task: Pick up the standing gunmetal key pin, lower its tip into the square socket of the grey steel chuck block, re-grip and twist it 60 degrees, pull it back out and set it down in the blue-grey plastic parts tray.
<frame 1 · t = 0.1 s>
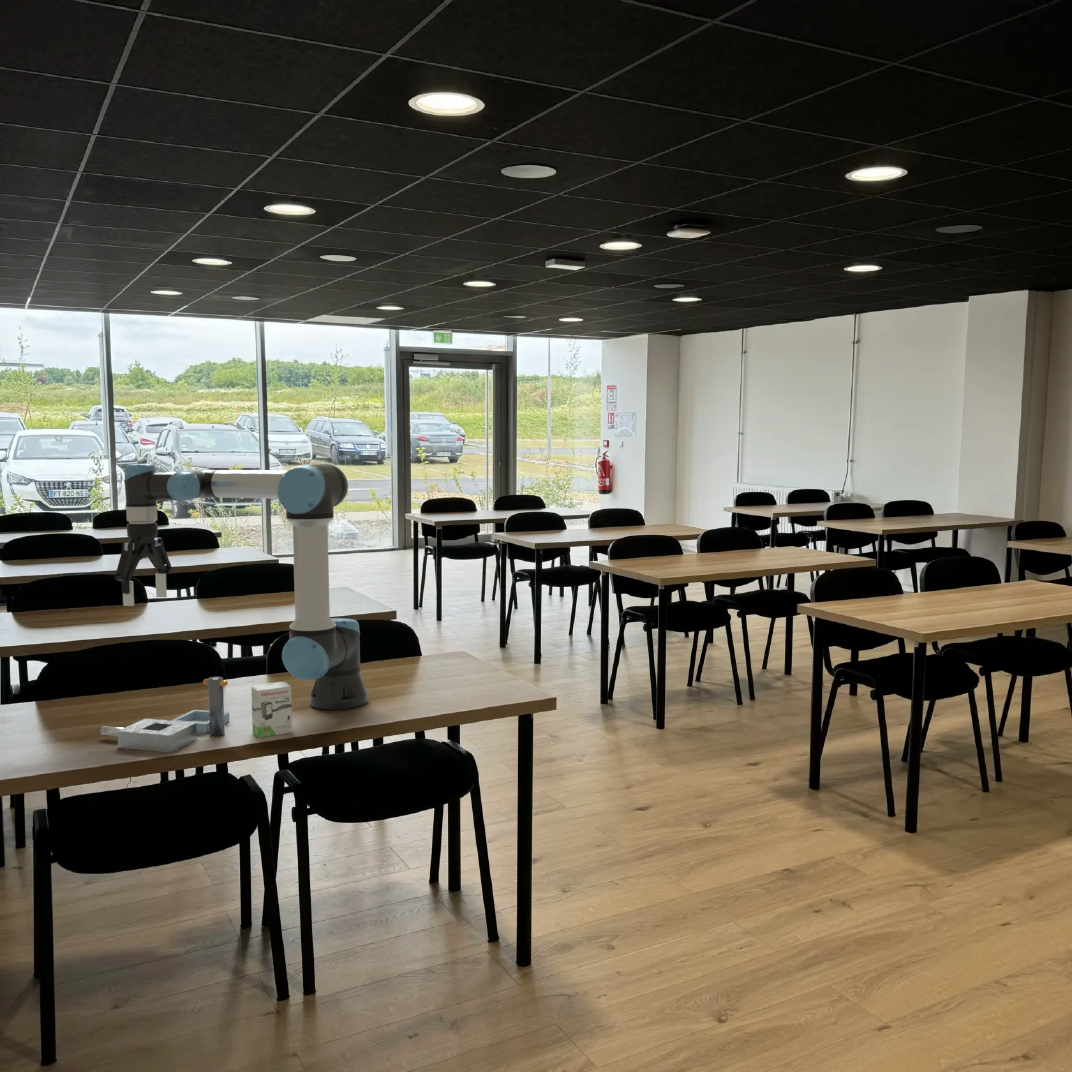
hand: (145, 601, 255), 28 cm above the table, fingers open, 13 cm apart
key pin: (217, 735, 231), on the table
chuck block: (158, 743, 225), on the table
ink box: (272, 733, 233), on the table
parts tray: (200, 726, 238), on the table
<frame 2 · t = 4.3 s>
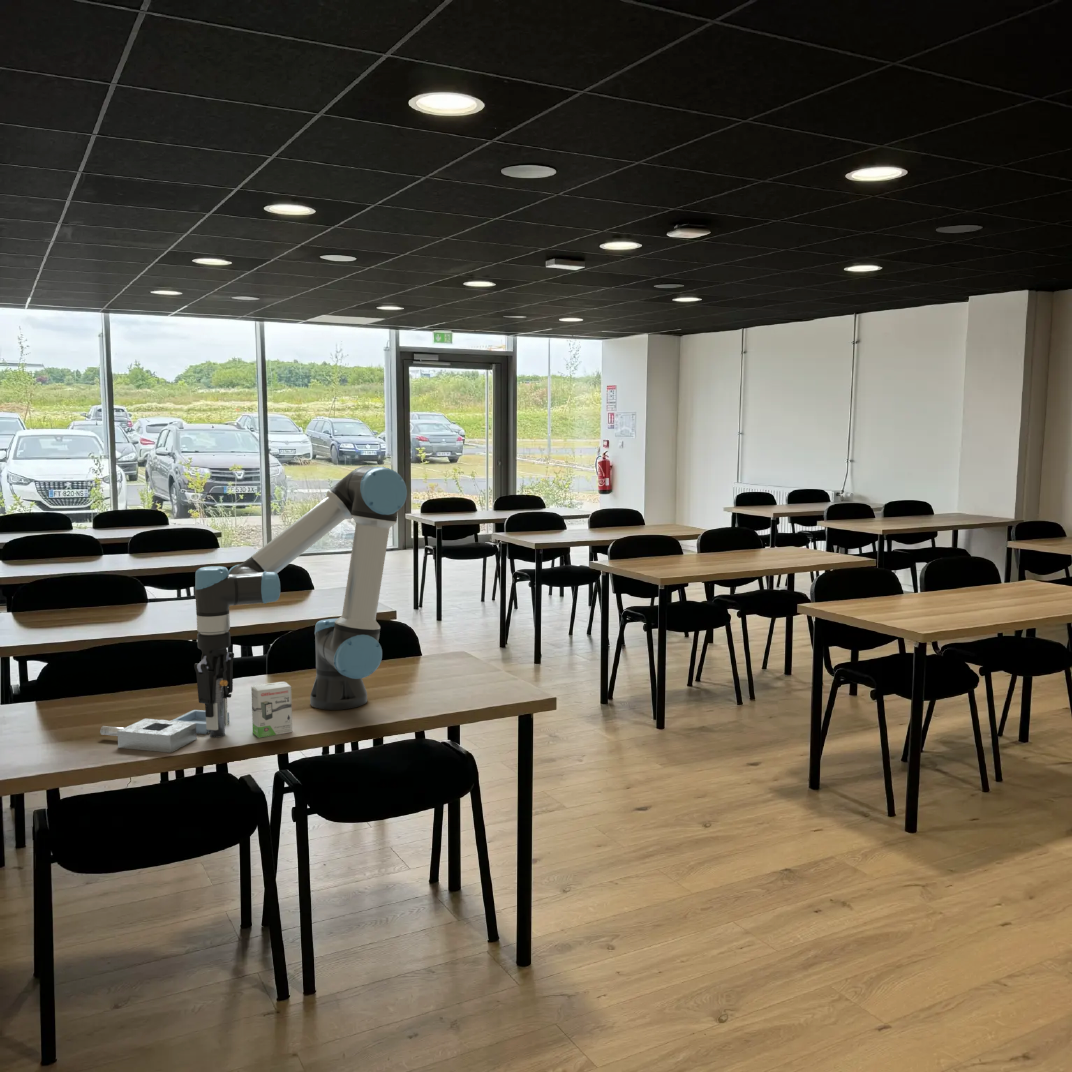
hand: (217, 726, 231), 2 cm above the table, fingers closed on key pin, 3 cm apart
key pin: (217, 735, 231), on the table, touching gripper
everything else where it was.
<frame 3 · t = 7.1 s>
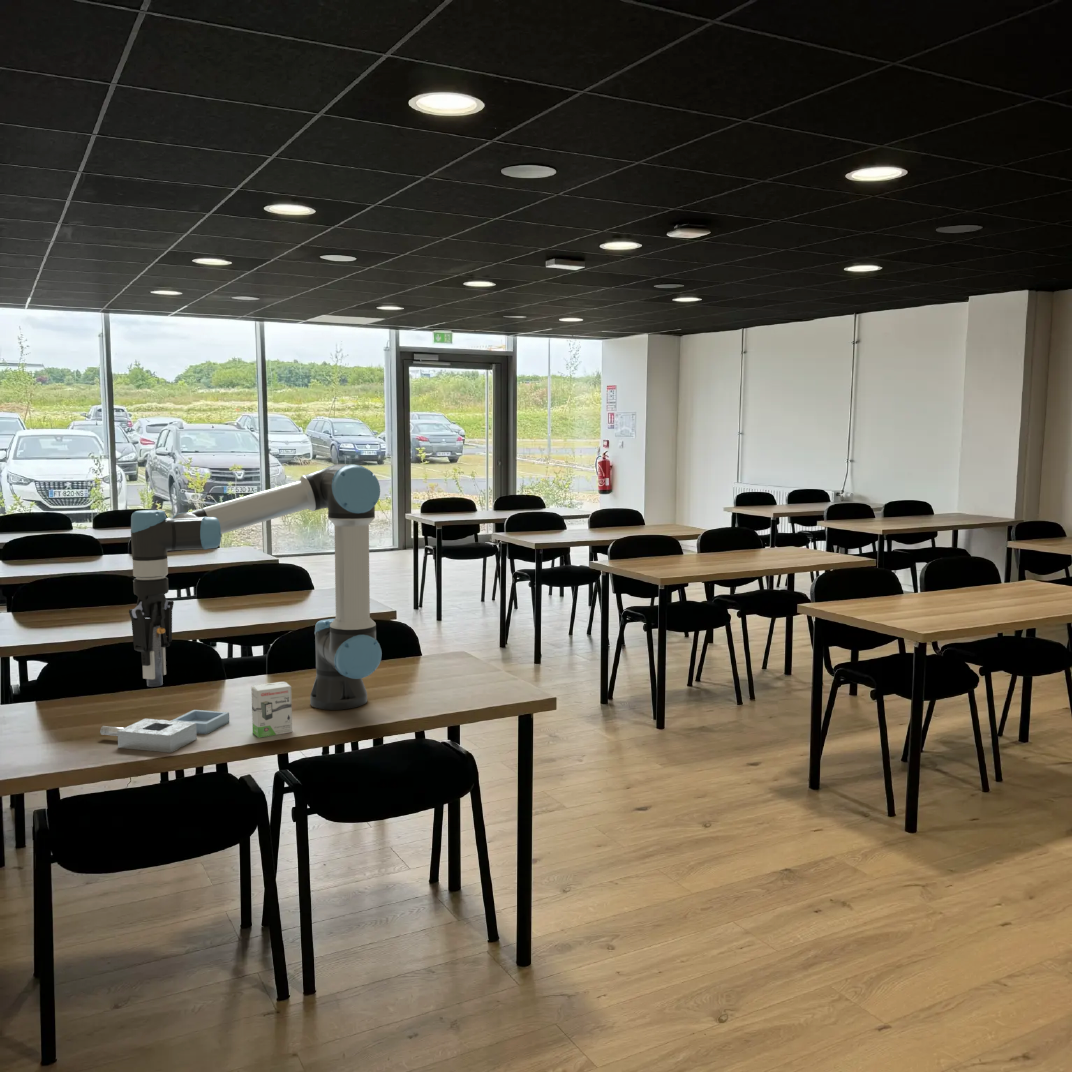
hand: (154, 676, 223), 16 cm above the table, fingers closed on key pin, 3 cm apart
key pin: (154, 684, 223), point 14 cm above the table, touching gripper
everything else where it was.
when the fingers open (5 cm above the table, at t = 9.7 s): key pin drops 2 cm, resting in chuck block.
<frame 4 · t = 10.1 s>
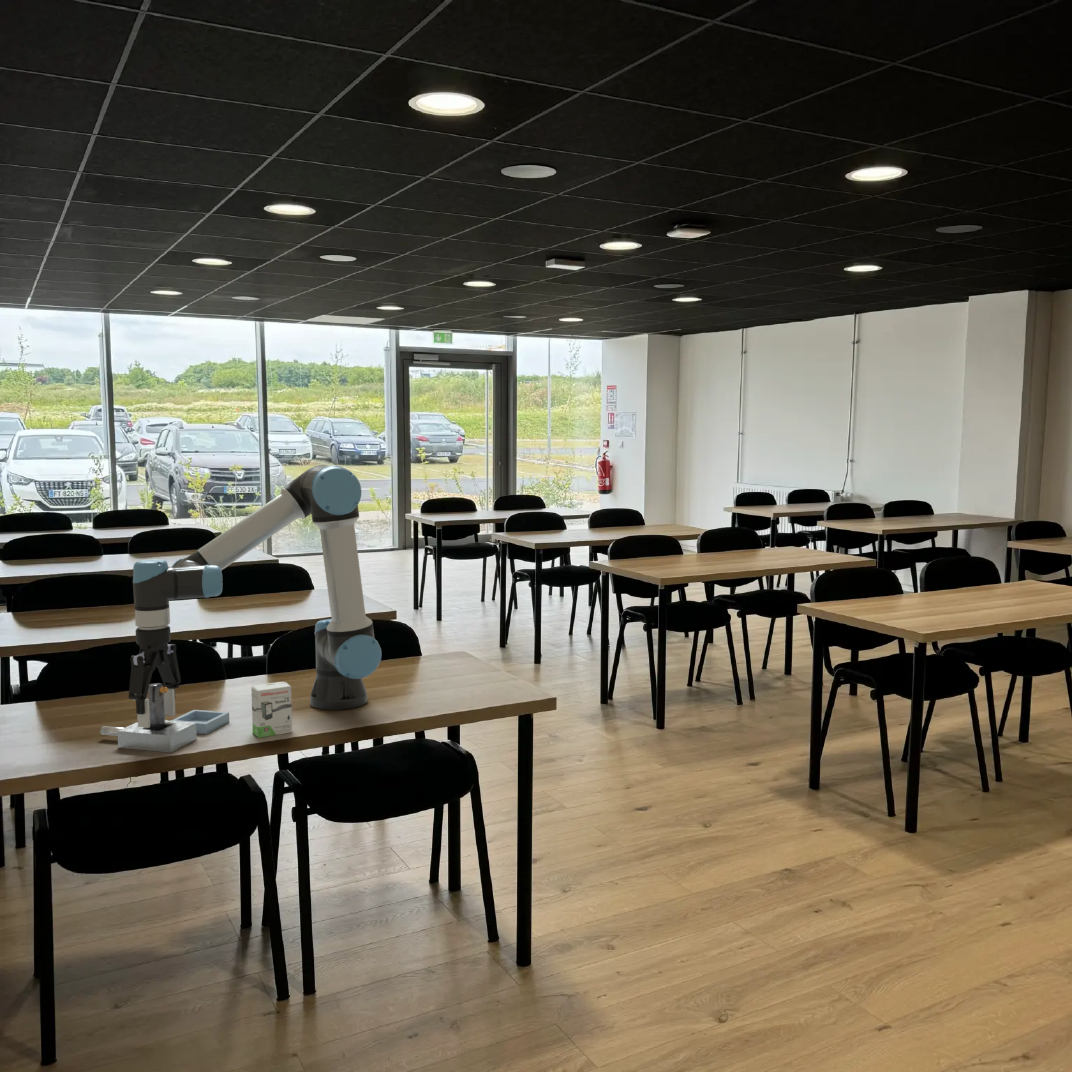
hand: (157, 720, 224), 5 cm above the table, fingers open, 9 cm apart
key pin: (158, 743, 225), resting in chuck block
everything else where it was.
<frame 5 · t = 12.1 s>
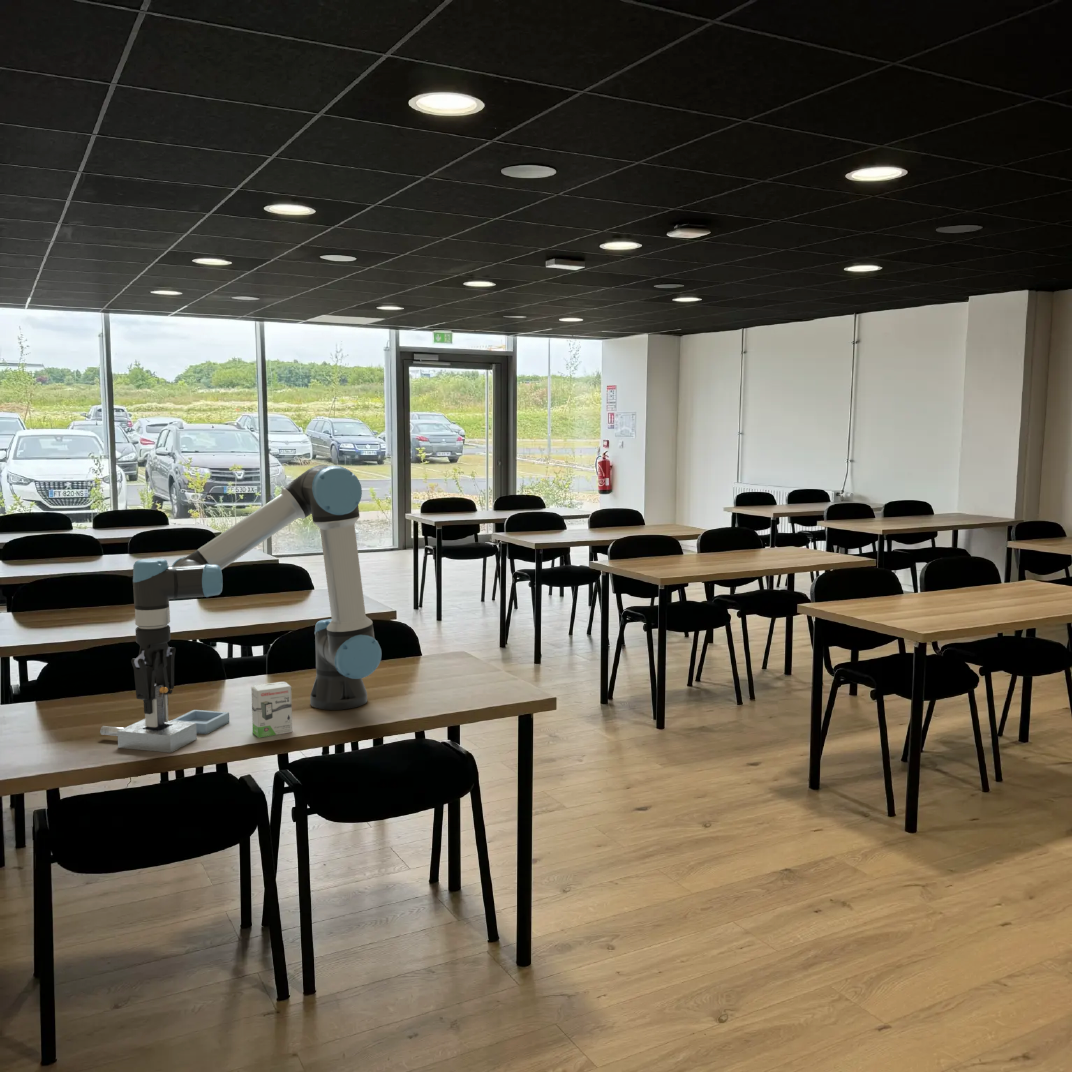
hand: (157, 723, 224), 5 cm above the table, fingers closed on key pin, 3 cm apart
key pin: (157, 743, 224), resting in chuck block, touching gripper
everything else where it was.
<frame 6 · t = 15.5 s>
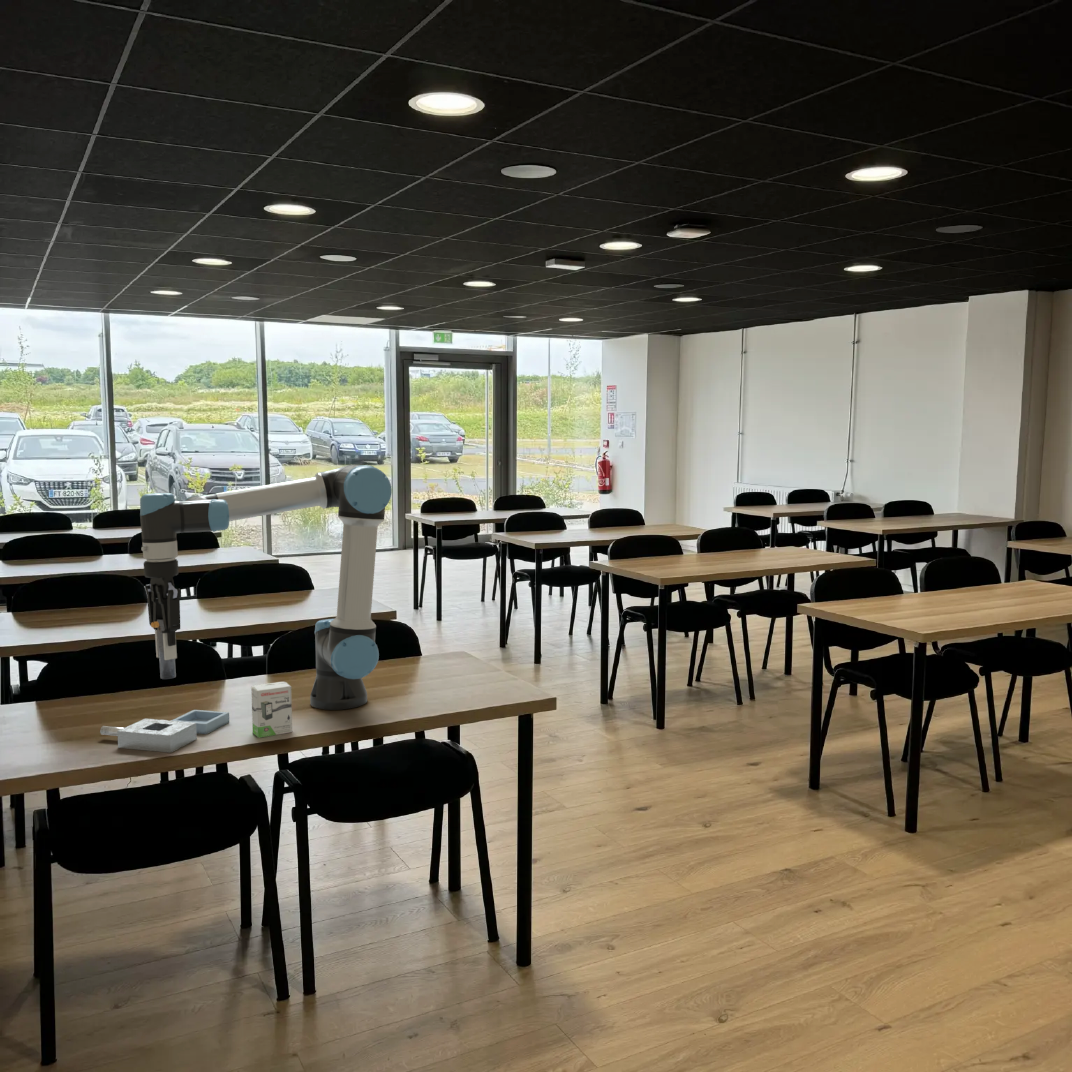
hand: (166, 657, 225), 20 cm above the table, fingers closed on key pin, 3 cm apart
key pin: (168, 677, 226), point 15 cm above the table, touching gripper
everything else where it was.
when the fingers open (6 cm above the table, at t = 19.0 s): key pin stays where it is, resting on parts tray.
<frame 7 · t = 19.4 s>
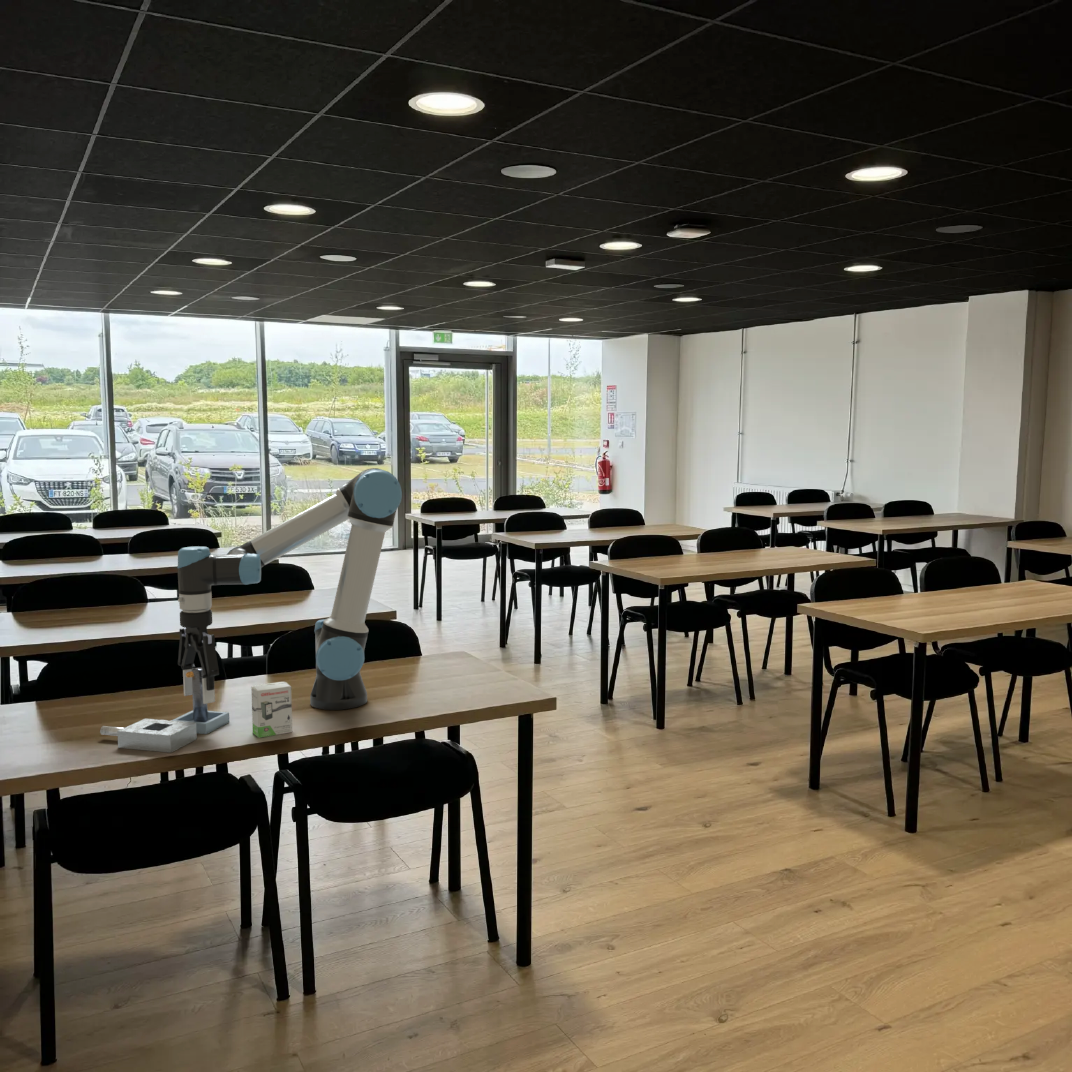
hand: (199, 698, 237), 7 cm above the table, fingers open, 9 cm apart
key pin: (200, 724, 238), point 1 cm above the table, touching parts tray
everything else where it was.
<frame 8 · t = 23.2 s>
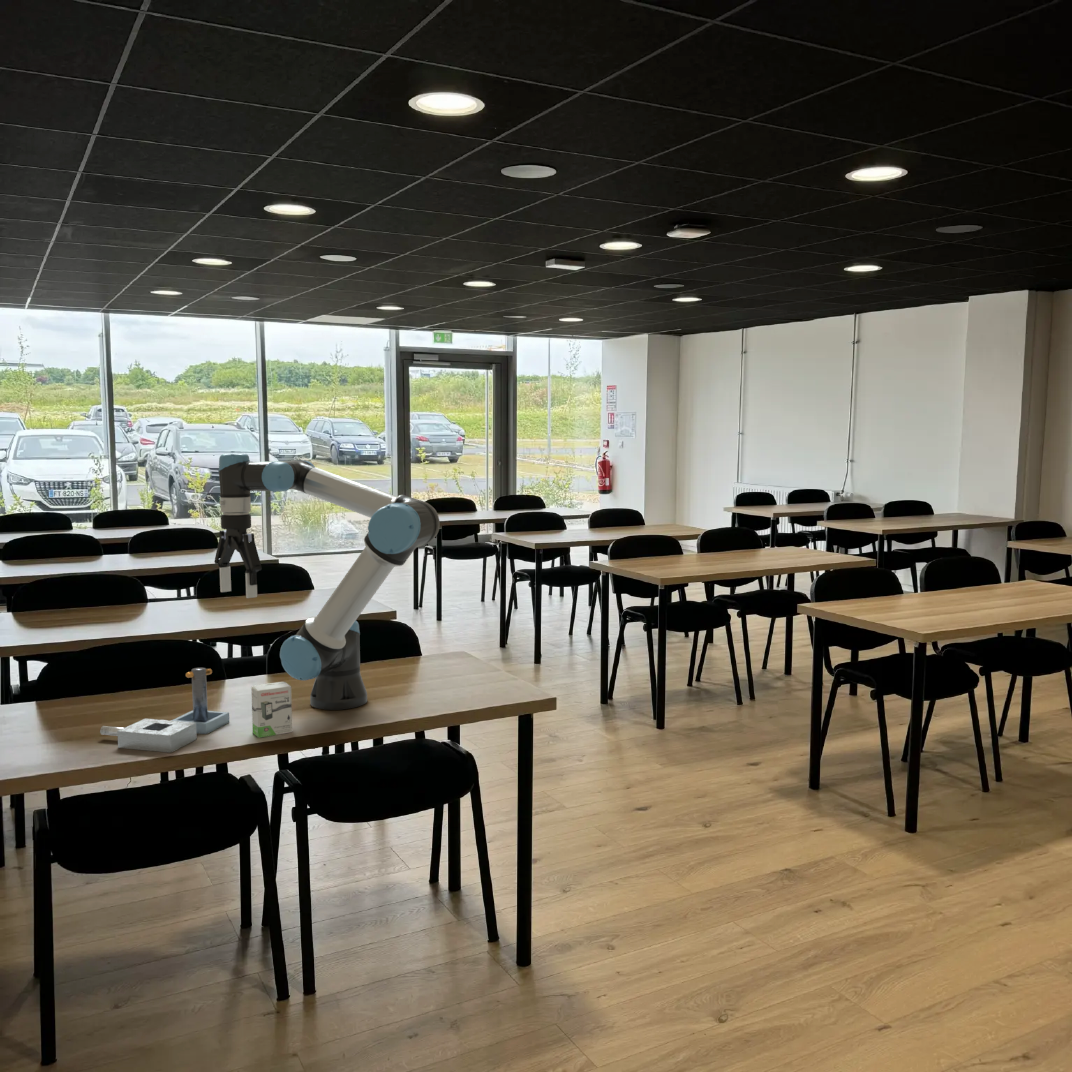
hand: (238, 594, 249), 31 cm above the table, fingers open, 13 cm apart
nothing on the table moved.
at the end: key pin inside the target area on the parts tray (0.1 cm from its centre), point 0.5 cm above the parts tray's base; the gripper is holding nothing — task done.
